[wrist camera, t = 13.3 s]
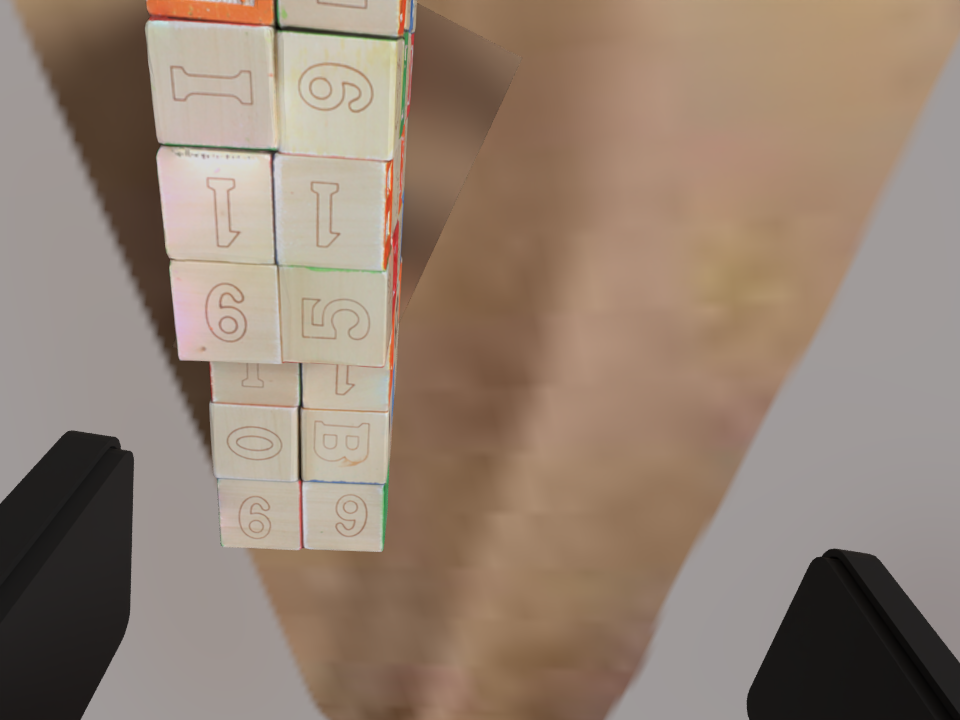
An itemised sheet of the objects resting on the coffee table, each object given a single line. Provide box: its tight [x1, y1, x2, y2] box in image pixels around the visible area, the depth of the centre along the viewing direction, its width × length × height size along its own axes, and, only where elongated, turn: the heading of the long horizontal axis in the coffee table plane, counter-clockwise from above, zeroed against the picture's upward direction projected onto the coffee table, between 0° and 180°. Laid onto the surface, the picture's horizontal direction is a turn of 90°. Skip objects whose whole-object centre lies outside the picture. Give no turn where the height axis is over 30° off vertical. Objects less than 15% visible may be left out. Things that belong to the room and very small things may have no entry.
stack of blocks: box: [145, 0, 417, 552], centre depth 27 cm, size 21×6×12 cm, turn 175°
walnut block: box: [172, 3, 522, 348], centre depth 35 cm, size 18×9×5 cm, turn 154°
